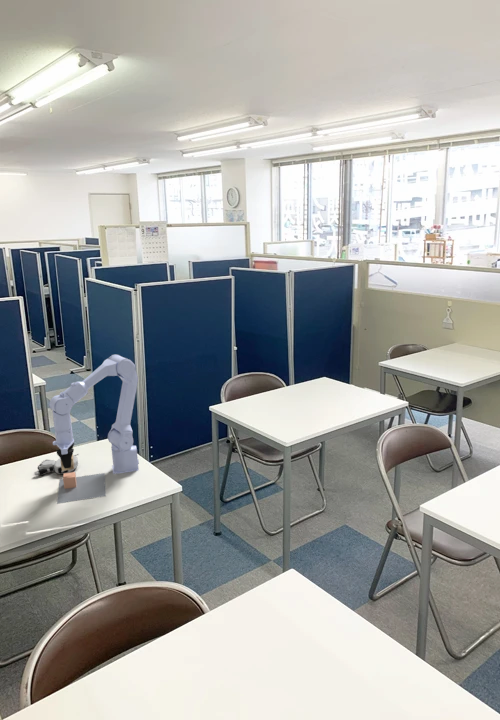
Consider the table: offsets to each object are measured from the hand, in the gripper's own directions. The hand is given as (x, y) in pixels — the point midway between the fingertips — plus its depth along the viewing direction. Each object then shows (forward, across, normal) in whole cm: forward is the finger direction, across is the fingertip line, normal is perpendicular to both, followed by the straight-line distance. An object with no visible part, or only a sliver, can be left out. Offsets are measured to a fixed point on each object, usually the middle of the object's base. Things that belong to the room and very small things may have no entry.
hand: (67, 464), depth 195 cm
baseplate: (+9, +3, +4) cm, 10 cm away
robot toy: (+9, -15, -5) cm, 18 cm away
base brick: (+8, 0, 0) cm, 8 cm away
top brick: (+1, 0, 0) cm, 1 cm away
